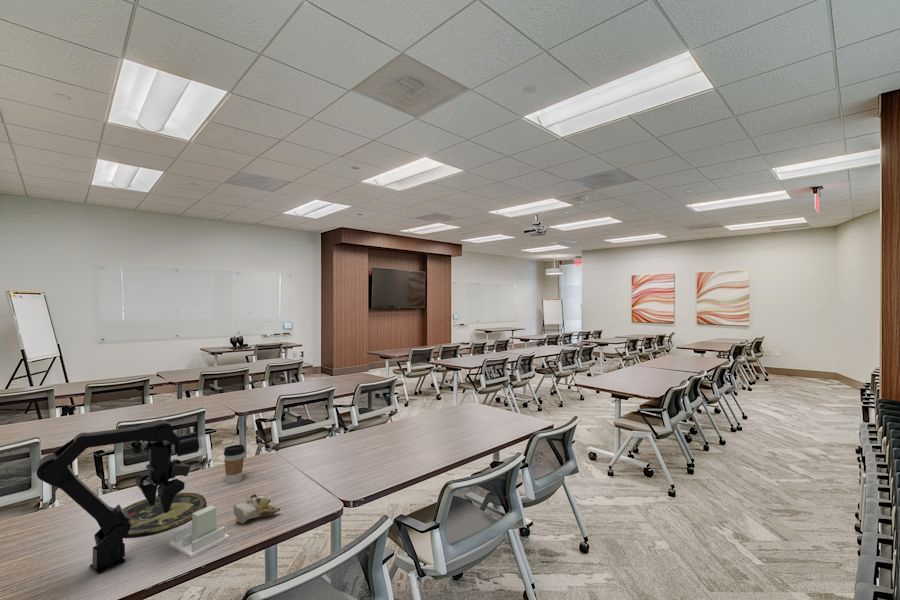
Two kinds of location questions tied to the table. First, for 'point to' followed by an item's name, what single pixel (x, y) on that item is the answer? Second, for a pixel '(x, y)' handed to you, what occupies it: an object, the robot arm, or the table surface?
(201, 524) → the sage tile
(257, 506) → the ceramic sculpture
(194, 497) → the decorative plate
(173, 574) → the table surface
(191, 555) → the dish rack
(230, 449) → the coffee cup
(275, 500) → the table surface
